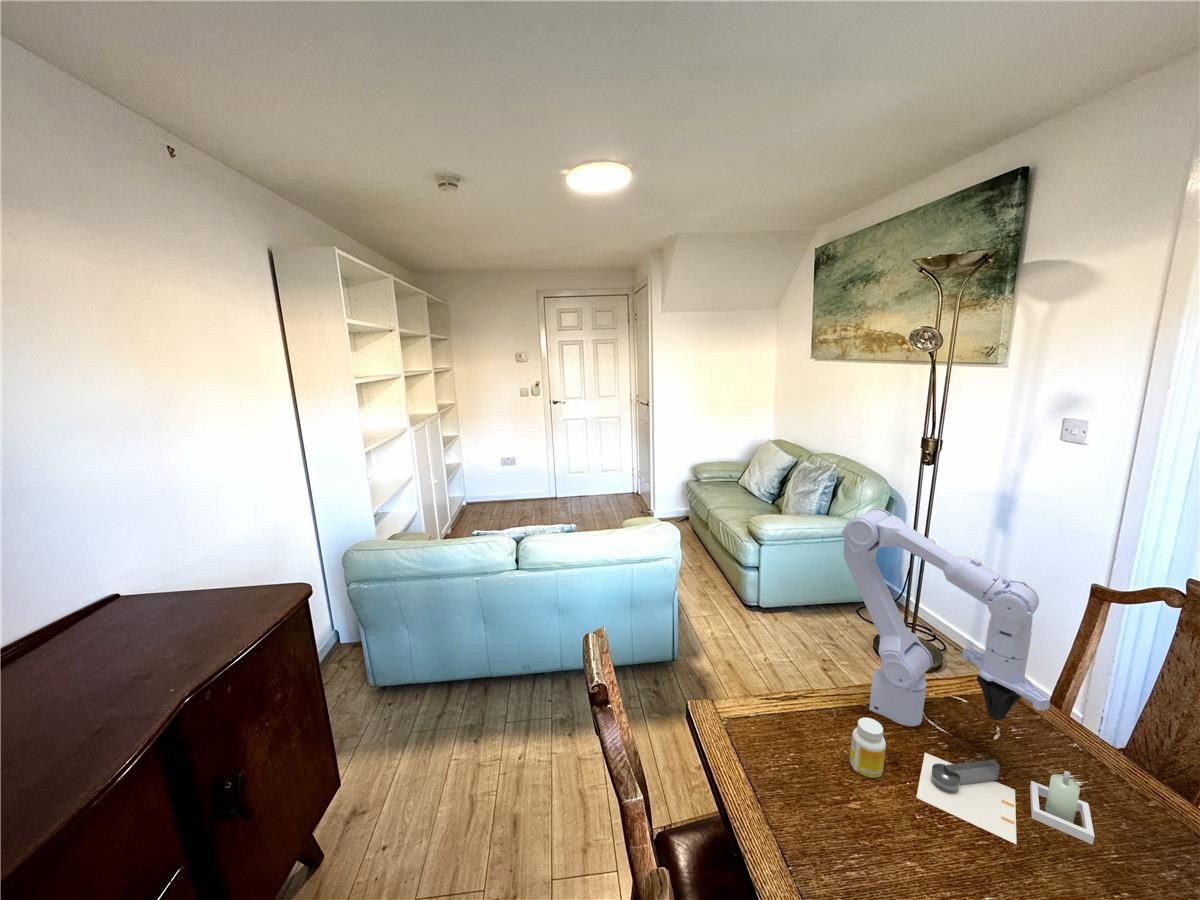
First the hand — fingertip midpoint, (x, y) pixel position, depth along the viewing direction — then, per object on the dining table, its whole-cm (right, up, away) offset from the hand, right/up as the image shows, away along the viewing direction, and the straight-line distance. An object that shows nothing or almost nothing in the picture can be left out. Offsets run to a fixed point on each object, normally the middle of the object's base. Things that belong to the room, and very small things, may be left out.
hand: (996, 717), depth 88 cm
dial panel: (-10, -11, -5) cm, 16 cm away
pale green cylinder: (+3, -12, -9) cm, 15 cm away
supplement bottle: (-23, -11, +1) cm, 26 cm away
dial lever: (-8, -9, -3) cm, 13 cm away
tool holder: (+3, -12, -9) cm, 15 cm away
